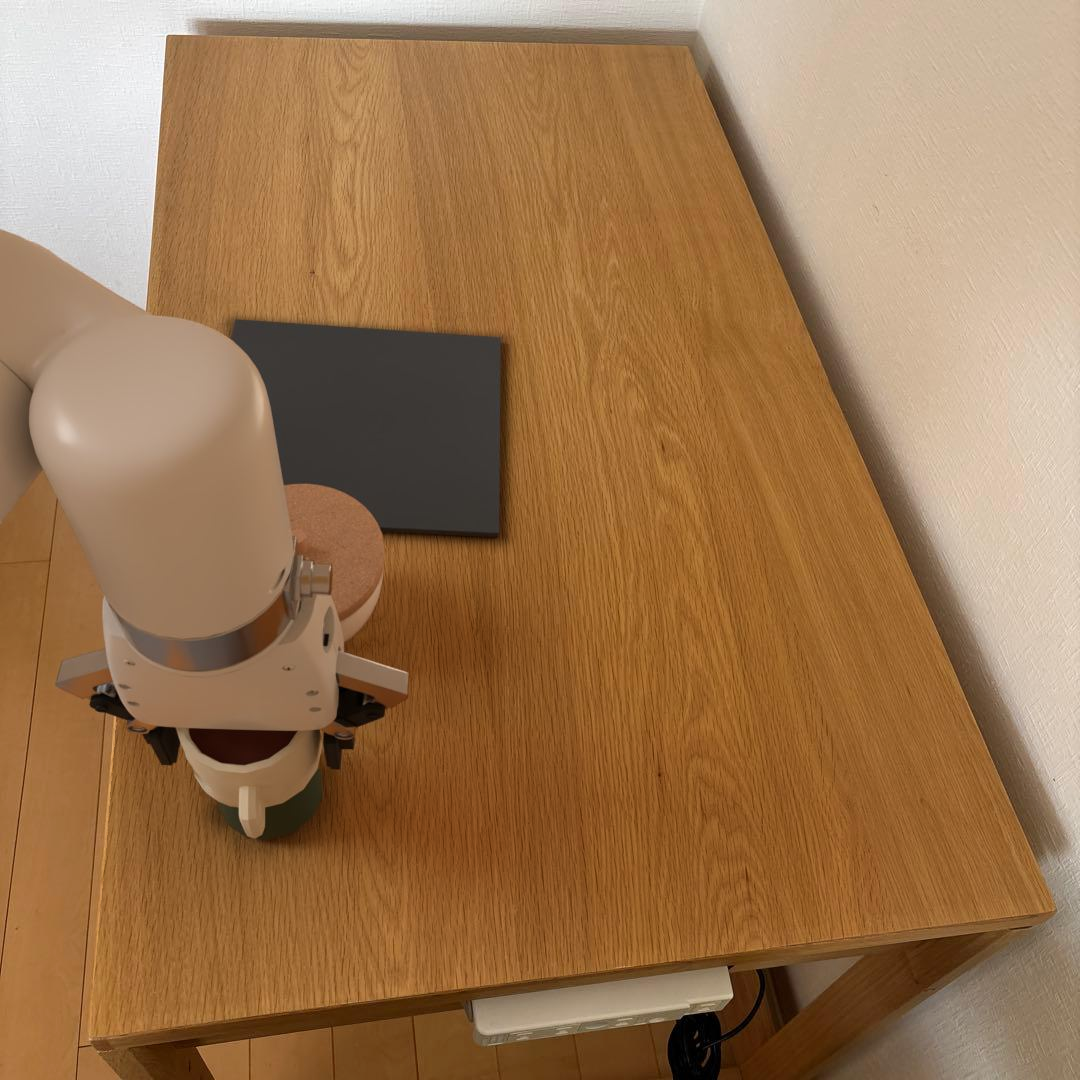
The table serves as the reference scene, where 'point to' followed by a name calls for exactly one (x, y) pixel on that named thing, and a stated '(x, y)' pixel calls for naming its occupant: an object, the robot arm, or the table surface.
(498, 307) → the table surface
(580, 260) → the table surface
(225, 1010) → the table surface
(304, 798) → the character mug
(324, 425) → the mat
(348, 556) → the trinket box
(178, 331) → the robot arm
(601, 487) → the table surface
